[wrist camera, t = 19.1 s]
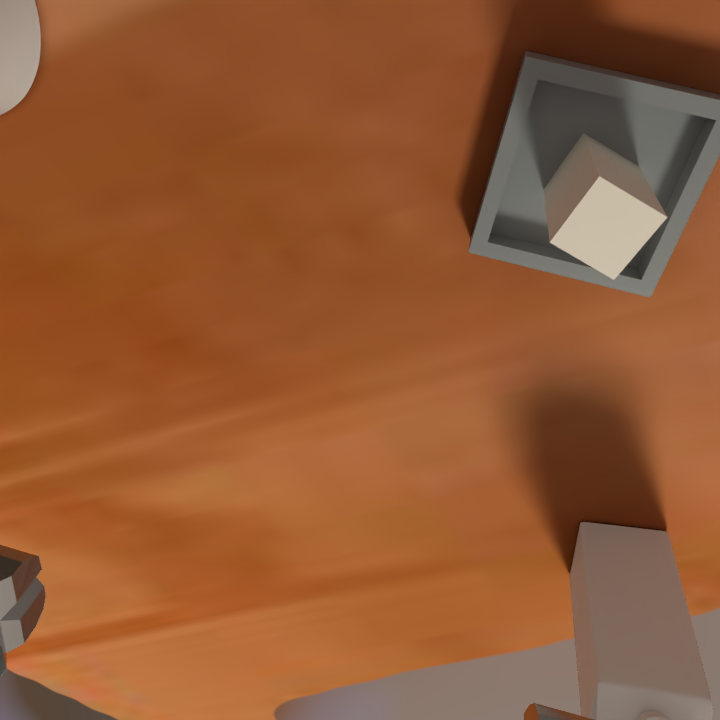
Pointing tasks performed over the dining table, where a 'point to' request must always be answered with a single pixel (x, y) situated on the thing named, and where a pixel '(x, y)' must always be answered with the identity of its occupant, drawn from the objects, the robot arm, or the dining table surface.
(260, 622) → the dining table surface
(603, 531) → the milk carton
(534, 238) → the grey tray
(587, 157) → the cream block
